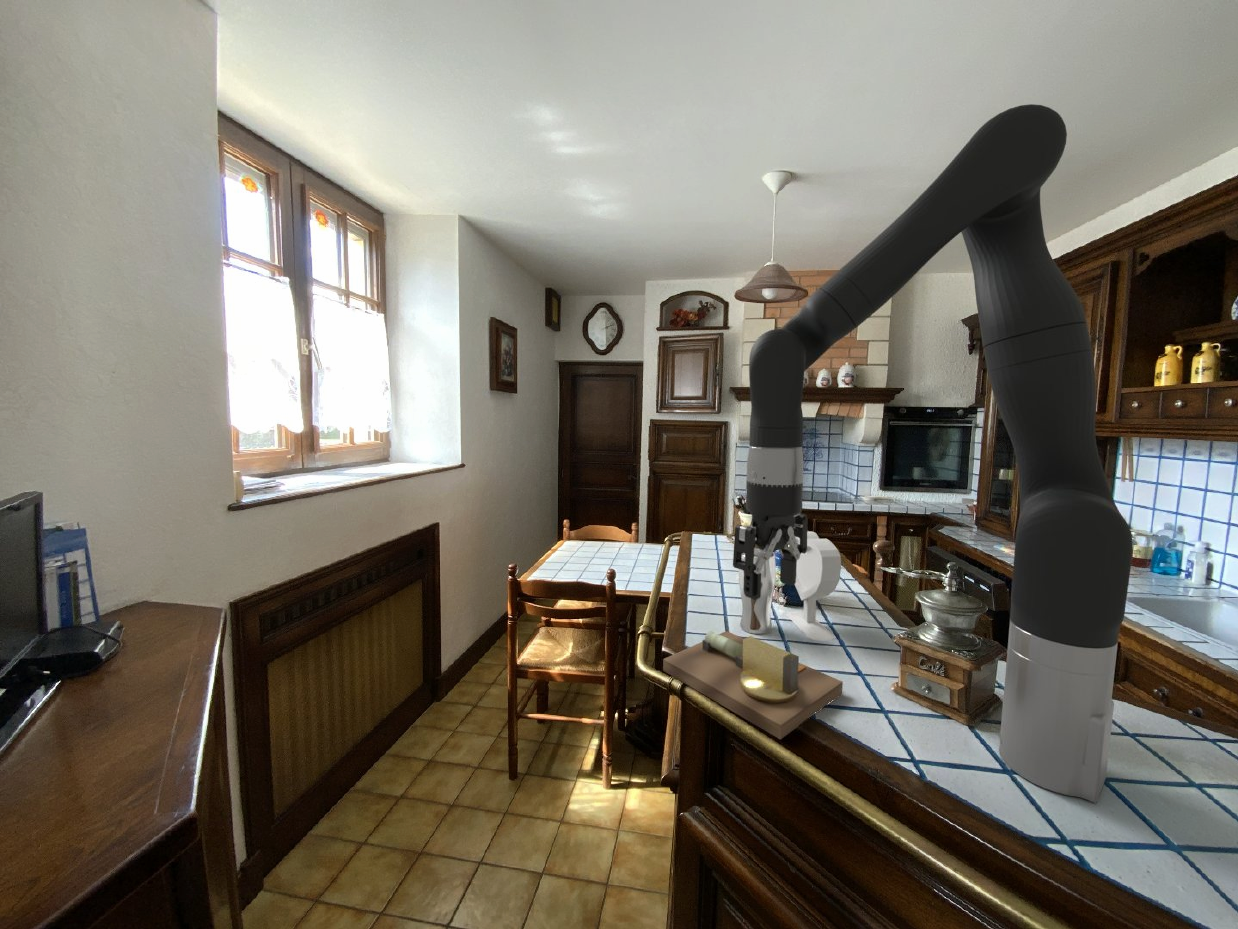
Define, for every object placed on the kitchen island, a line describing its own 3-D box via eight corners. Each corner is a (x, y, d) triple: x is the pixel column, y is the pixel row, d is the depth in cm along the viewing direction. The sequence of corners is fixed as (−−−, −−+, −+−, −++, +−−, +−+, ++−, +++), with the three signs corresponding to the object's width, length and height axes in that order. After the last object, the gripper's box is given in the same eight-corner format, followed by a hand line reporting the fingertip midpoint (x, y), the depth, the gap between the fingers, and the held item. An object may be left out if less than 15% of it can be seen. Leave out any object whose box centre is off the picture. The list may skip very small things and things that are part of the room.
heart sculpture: (780, 609, 105) (783, 526, 103) (803, 608, 105) (806, 526, 103) (815, 644, 90) (818, 547, 88) (842, 642, 90) (846, 546, 88)
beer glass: (770, 620, 100) (772, 548, 98) (778, 636, 93) (780, 558, 91) (735, 619, 100) (736, 547, 99) (740, 635, 94) (741, 558, 92)
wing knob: (809, 688, 72) (810, 649, 71) (777, 710, 67) (778, 668, 66) (761, 666, 78) (762, 630, 77) (729, 684, 73) (729, 646, 72)
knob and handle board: (842, 694, 74) (843, 664, 73) (780, 739, 64) (781, 705, 64) (726, 641, 91) (726, 616, 91) (663, 670, 81) (663, 643, 81)
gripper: (766, 487, 61) (762, 612, 63) (826, 476, 70) (821, 586, 72) (719, 480, 67) (717, 594, 69) (780, 471, 76) (777, 573, 78)
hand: (770, 590), depth 71 cm, fingers open, 8 cm apart
